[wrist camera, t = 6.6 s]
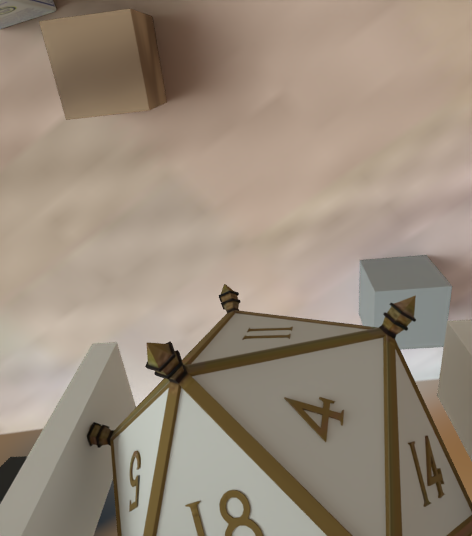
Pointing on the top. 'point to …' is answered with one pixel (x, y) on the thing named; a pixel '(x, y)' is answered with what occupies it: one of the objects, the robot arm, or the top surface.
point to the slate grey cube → (402, 287)
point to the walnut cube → (105, 63)
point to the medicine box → (23, 10)
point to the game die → (285, 436)
